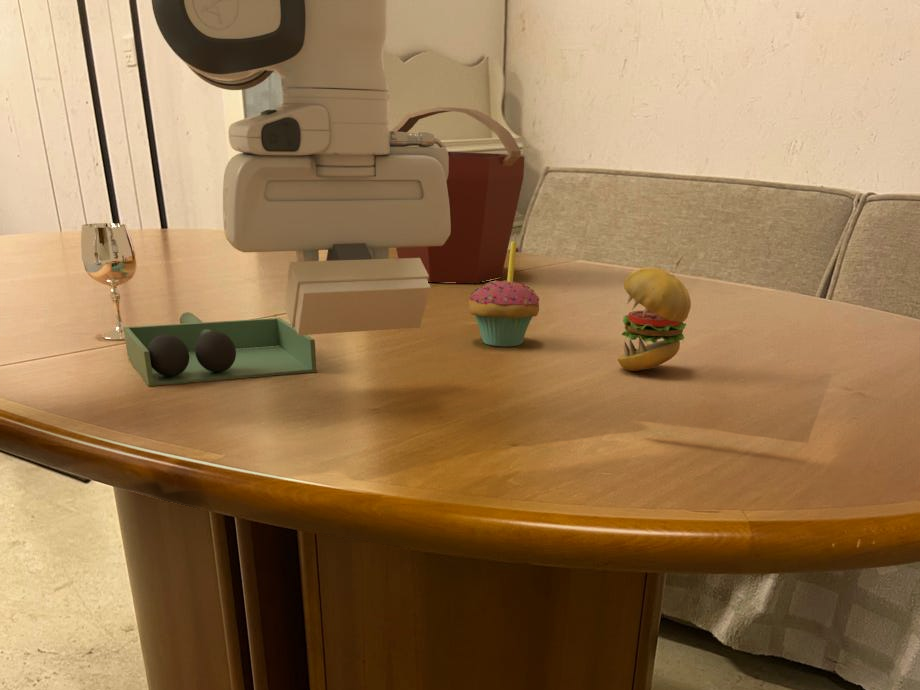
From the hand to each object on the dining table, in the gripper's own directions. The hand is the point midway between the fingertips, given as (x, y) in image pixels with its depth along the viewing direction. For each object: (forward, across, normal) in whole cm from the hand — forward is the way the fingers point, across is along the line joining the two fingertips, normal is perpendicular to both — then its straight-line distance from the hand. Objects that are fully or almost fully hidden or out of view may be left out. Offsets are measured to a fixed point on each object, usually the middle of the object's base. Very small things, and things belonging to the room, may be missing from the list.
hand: (344, 301), depth 85 cm
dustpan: (+9, +8, -21) cm, 24 cm away
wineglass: (+9, +16, -35) cm, 39 cm away
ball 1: (+6, +14, -12) cm, 20 cm away
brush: (0, 0, +5) cm, 5 cm away
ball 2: (+6, +10, -12) cm, 17 cm away
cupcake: (+9, -26, -16) cm, 31 cm away
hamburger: (+9, -34, +2) cm, 35 cm away
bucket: (+9, -43, -67) cm, 80 cm away
